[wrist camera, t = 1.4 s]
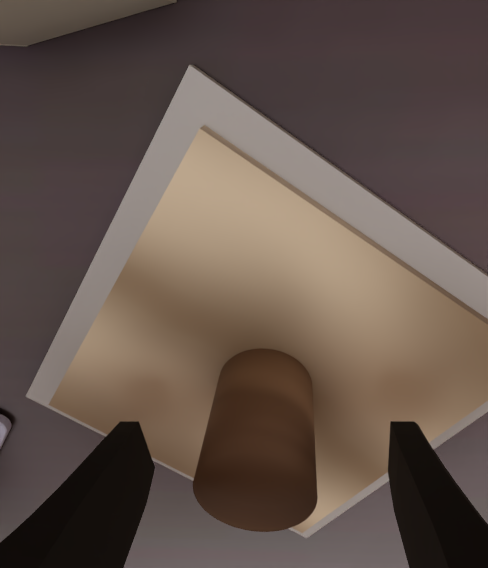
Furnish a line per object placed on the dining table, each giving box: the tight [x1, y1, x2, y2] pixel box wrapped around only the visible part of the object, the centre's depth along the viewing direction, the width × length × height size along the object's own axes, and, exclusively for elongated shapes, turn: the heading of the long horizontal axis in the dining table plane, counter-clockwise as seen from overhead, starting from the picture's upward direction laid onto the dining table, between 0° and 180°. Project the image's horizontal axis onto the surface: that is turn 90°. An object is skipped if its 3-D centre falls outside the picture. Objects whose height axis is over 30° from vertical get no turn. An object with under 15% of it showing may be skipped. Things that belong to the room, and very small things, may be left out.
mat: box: [26, 65, 488, 538], centre depth 15 cm, size 14×14×1 cm
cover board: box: [48, 125, 488, 533], centre depth 12 cm, size 12×12×5 cm
